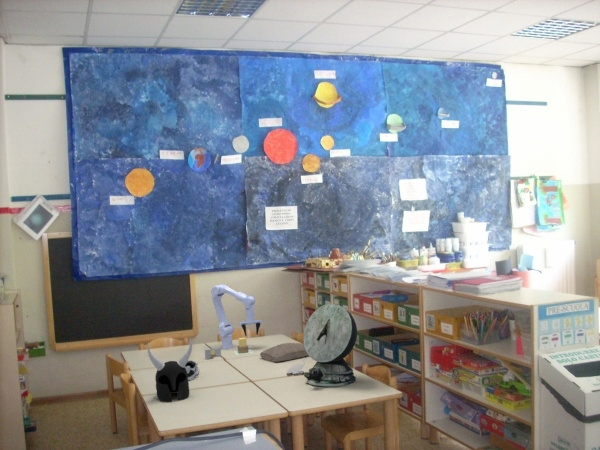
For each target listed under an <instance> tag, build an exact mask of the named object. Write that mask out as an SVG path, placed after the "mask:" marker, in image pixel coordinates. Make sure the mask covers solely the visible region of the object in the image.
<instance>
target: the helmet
mask: <svg viewBox="0 0 600 450" xmlns="http://www.w3.org/2000/svg"><path fill="white" fill-rule="evenodd" d="M146 347H147V353H148V358H149V360H150V361H151V364H152V365H153V366H154V368H155V369H156V370H157V371H156V373H155V390H156V397H157V398H158V400H159V401H160V402H164V403H167V402H172V400H173V398H172V393H176V395H177V400H178V401H179V400H185V399H187V398H189V396H190V383H189V381H188V374H187V370H186V368H185V365H186V363H187V362H188V361H189V359H190V357H191V354H192V352H193V351H192V350H193V343H192V338H191V337H189V347H188V349H187V350H186V352H185V353H184V354H183V355H182V356H181V357H180V358H179V360H176V361H175V360H169V361H165V362H163V361H162V360H160V359H159V358H157V357H156V356H155V355H154V354H153V353H152V352H151V349H150V342H149V341H148V343H147V346H146Z"/></svg>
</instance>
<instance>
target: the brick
mask: <svg viewBox="0 0 600 450" xmlns="http://www.w3.org/2000/svg"><path fill="white" fill-rule="evenodd" d="M237 341H238V346H239V347H246V346H248V344H247V338H246V337H239V338H238V340H237Z"/></svg>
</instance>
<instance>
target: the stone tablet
mask: <svg viewBox="0 0 600 450" xmlns="http://www.w3.org/2000/svg"><path fill="white" fill-rule="evenodd" d="M259 356H260V358H261V359H262V360H265V361H267V362H271V363H279V362H285V361H289V360H294V359H295V360H296V359H301V358H306V357H310V356H309V355H308V354H307V352H306V350H305V346H304V342H300V343H299V342H286V343H281V344H277V345H275V346H272V347H268V348H267V349H264V350H263V351H261V352H260V353H259ZM305 356H306V357H305ZM300 357H301V358H300Z"/></svg>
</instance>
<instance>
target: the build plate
mask: <svg viewBox="0 0 600 450" xmlns="http://www.w3.org/2000/svg"><path fill="white" fill-rule="evenodd" d="M232 353H233V354H234V355H235V356H238V355H239V356H241V355H247V354H254V351H253V350H252V349H249V348H248V353H240V354H239V353H238V350H234V351H232Z"/></svg>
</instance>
